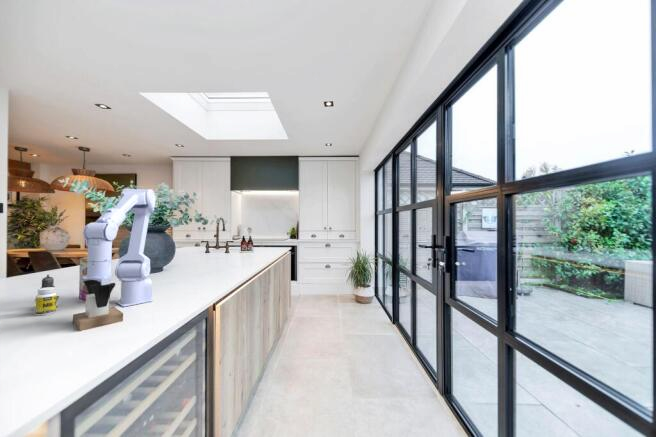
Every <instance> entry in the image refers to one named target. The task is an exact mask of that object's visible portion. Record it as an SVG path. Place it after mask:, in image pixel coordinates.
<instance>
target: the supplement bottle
mask: <svg viewBox="0 0 656 437" xmlns="http://www.w3.org/2000/svg"><path fill="white" fill-rule="evenodd" d="M40 288H41V287H40ZM40 288H39V289H38V290H37V295H36V296H35V299H36V301H35V307H34V308H35V312H34V314H35V316H38V317H39V316H42V317H43V316H48V315H52V314H54V313H56V312H57V308H56V306H57V302H56V296H57V293H56V286H55V287H46V288H41V289H40Z"/></svg>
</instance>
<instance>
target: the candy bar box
mask: <svg viewBox="0 0 656 437" xmlns="http://www.w3.org/2000/svg"><path fill="white" fill-rule="evenodd" d="M87 259H88V256H87V257H80V258H79V288H78V290H79V291H78V293H79V294H78V298H79V300H84V301H86V295H88V294H89V293H88V289H87V287H86V285H85V284H84V282H83V281H86V280H90V279H82V276H87ZM109 300H111V296H110V297H109Z"/></svg>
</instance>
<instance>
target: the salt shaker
mask: <svg viewBox="0 0 656 437" xmlns="http://www.w3.org/2000/svg"><path fill="white" fill-rule="evenodd" d="M54 281H55V280H54V277H53V276H50V274H47V275H46V277H43V278H42V279H41V287H40V288H39V289H41V288H46V287H55V288H56V286H54ZM59 298H60V296H59V295H56V303H57V301H58V299H59ZM34 301H35V302H36V298H35V299H34ZM58 307H59V306H58V305H56V309H57V308H58Z"/></svg>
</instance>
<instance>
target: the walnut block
mask: <svg viewBox="0 0 656 437" xmlns="http://www.w3.org/2000/svg"><path fill="white" fill-rule="evenodd" d="M121 322H124V312H122V311H121V310H120V309H118V308H116V307H115V306H109V314H105V315H100V316H96V317H91V318H89V317H88V316H87V315H86V314H85V312H79V313H74V314H72V324H73V325H74V324H75V325H74V326H75V327H76V328H77V329H78V331H79V332H83V330H84V331H87V330H92V329H96V328H100V327H105V326H108V325H113V324H116V323H121Z"/></svg>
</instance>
